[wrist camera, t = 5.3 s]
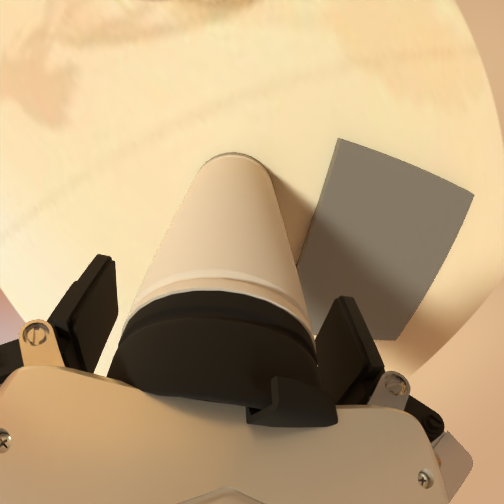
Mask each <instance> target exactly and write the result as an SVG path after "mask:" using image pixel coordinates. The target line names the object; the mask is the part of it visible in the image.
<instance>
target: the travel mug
mask: <svg viewBox="0 0 504 504" xmlns="http://www.w3.org/2000/svg"><path fill="white" fill-rule="evenodd" d="M107 377H108V378H112V379H116V380H120V381H123V382H124V383H126V384H129V385H131V386H133V387H135V388H137V389H140V390H141V391H143V392H147V393H150V394H154V395H158V396H169V397H183V398H191V399H199V400H209V401H215V402H221V403H226V404H232V405H239V406H245V407H246V423H247V424H252V425H260V426H268V427H284V428H306V427H329V426H332V425H336V424H337V423H338V415H337V410H336V405H335V401H334V398H333V397H332V396H331V395H330V394H329V393H328V392H326V391H324V388H323V383H322V379H321V374H320V371H319V369H318V366H317V356H316V344H315V340H314V336H313V333H312V331H311V323H310V319H309V315H308V311H307V307H306V303H305V300H304V296H303V292H302V288H301V284H300V280H299V277H298V273H297V269H296V265H295V262H294V258H293V254H292V251H291V247H290V243H289V240H288V236H287V233H286V229H285V226H284V222H283V219H282V215H281V212H280V208H279V205H278V201H277V198H276V195H275V191H274V188H273V185H272V181H271V178H270V176H269V173H268V172H267V170H266V169H265V167H264V166H263V165H262V164H261V163H260V162H259V161H258V160H256V159H254V158H253V157H251V156H248V155H246V154H242V153H237V152H231V153H224V154H220V155H217V156H215V157H213V158H211V159H210V160H209V161H207V162H206V163H205V164H204V165H203V166H202V167H201V169H200V170H199V172H198V173H197V175H196V177H195V179H194V181H193V182H192V184H191V186H190V188H189V190H188V191H187V193H186V195H185V197H184V199H183V201H182V203H181V205H180V206H179V208H178V210H177V212H176V214H175V216H174V218H173V220H172V222H171V224H170V226H169V228H168V230H167V232H166V234H165V236H164V238H163V240H162V242H161V244H160V246H159V248H158V250H157V252H156V254H155V256H154V258H153V260H152V262H151V265H150V267H149V269H148V271H147V273H146V275H145V278H144V280H143V282H142V284H141V286H140V289H139V291H138V293H137V296H136V298H135V300H134V302H133V305H132V307H131V309H130V313H129V315H128V317H127V319H126V321H125V324H124V326H123V329H122V335H121V339H120V341H119V344H118V349H117V351H116V353H115V355H114V357H113V360H112V363H111V366H110V368H109V371H108V374H107Z"/></svg>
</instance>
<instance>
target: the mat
mask: <svg viewBox="0 0 504 504" xmlns="http://www.w3.org/2000/svg"><path fill="white" fill-rule="evenodd" d="M473 197H474V194H472V193H471V192H469V191H467V190H465V189H463V188H461V187H459V186H457V185H455V184H453V183H451V182H449V181H447V180H445V179H443V178H440V177H438V176H436V175H434V174H432V173H430V172H427V171H425V170H423V169H420V168H418V167H416V166H413V165H411V164H409V163H406V162H404V161H401V160H399V159H396V158H394V157H391V156H389V155H386V154H383V153H381V152H378V151H375V150H373V149H370V148H367V147H364V146H361V145H358V144H355V143H352V142H349V141H346V140H343V139H340V138H338V140H337V143H336V146H335V150H334V153H333V156H332V160H331V163H330V166H329V170H328V173H327V176H326V179H325V182H324V186H323V189H322V192H321V195H320V198H319V201H318V204H317V207H316V210H315V213H314V216H313V219H312V222H311V225H310V228H309V231H308V234H307V237H306V240H305V243H304V246H303V249H302V252H301V255H300V257H299V260H298V263H297V266H296V269H297V273H298V277H299V280H300V284H301V288H302V292H303V296H304V300H305V303H306V307H307V311H308V315H309V319H310V323H311V331H312V333H313V335H318V333H319V331H320V329H321V327H322V325H323V323H324V321H325V318H326V316H327V314H328V312H329V310H330V308H331V306H332V304H333V302H334V300H335V299H336V298H339V296H349V297H353V298H354V299H355V302H356V304H357V306H358V308H359V310H360V312H361V314H362V316H363V319H364V321H365V323H366V325H367V327H368V329H369V332H370V334H371V336H372V338H373V339H374V340H396V339H397V338H398V336H399V335H400V333H401V332H402V331H403V329H404V328H405V326H406V325H407V323H408V322H409V320H410V319H411V317H412V315H413V314H414V312H415V311H416V309H417V308H418V306H419V304H420V303H421V301H422V299H423V298H424V296H425V295H426V293H427V291H428V289H429V288H430V286H431V284H432V283H433V281H434V279H435V277H436V275H437V274H438V272H439V270H440V268H441V266H442V264H443V262H444V261H445V259H446V257H447V255H448V253H449V251H450V249H451V247H452V245H453V243H454V241H455V239H456V236H457V234H458V232H459V230H460V228H461V226H462V223H463V221H464V219H465V217H466V214H467V212H468V210H469V207H470V205H471V202H472V200H473Z"/></svg>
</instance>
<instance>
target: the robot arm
mask: <svg viewBox="0 0 504 504" xmlns="http://www.w3.org/2000/svg"><path fill="white" fill-rule="evenodd" d="M117 316H118V300H117V287H116V269H115V261H113V260H112V259H111V257H110V256H106V255H101V254H98V255H96V257H95V258H94V259H93V261H92V262H91V263H90V265H89V266H88V267H87V269H86V270H85V271H84V273H83V274H82V275H81V277H80V278H79V279H78V281H75V282H74V283H73V284H72V285H71V286H70V288H69V289H68V291H67V292H66V293H65V295H64V296H63V298H62V299H61V301H60V302H59V304H58V305H57V307H56V308H55V310H54V311H53V313H52V314H51V316H50V317H49V319H48V320H47V322H46V321H44V320H39V319H37V320H32V321H29V322H27V323H26V324H24V325H23V327H22V328H21V330H20V332H19V339H17V340H14V341H11V342H8V343H5V344H2V345H0V504H449V502H450V501H451V499H452V498H453V497H454V495H455V494H456V492H457V491H458V490H459V488H460V487H461V485H462V483H463V482H464V481H465V479H466V477H467V476H468V474H469V473H470V471H471V469H472V466H473V460H472V457H471V456H470V454H469V453H468V452H467V451H466V450H465V449H464V448H463V446H461V444H460V443H459V442H458V441H457V440H456V439H455V438H454V437H453V436H452V435H451V434H450V433H449V432H448V431H447V432H446V433H445V432H444V422H443V420H442V418H441V417H440V415H439V414H438V413H436V412H435V411H433V410H432V409H430V408H429V407H427V406H425V405H424V404H423V403H421V402H419V401H418V400H416V399H415V398H413V397H412V396H410V395H409V394H410V385H409V383H408V381H407V379H406V378H405V377H404V376H403V375H401V374H400V373H397V372H394V371H387V372H385V370H384V367H385V366H384V364H383V361H382V359H381V357H380V354H379V352H378V350H377V347H376V345H375V343H374V341H373V338H372V336H371V334H370V332H369V329H368V327H367V325H366V323H365V321H364V319H363V316H362V314H361V312H360V310H359V308H358V306H357V304H356V302H355V299H354V298H353V297H349V296H339V298H336V299H335V300H334V302H333V304H332V306H331V308H330V310H329V312H328V314H327V316H326V318H325V321H324V323H323V325H322V327H321V329H320V331H319V333H318V335H317V337H316V339H315V344H316V356H317V365H318V369H319V371H320V374H321V379H322V383H323V388H324V391H326V392H328V393H329V394H330V395H331V396H332V397H333V398H334V401H335V405H336V410H337V415H338V423H337V424H336V425H332V426H329V427H306V428H284V427H268V426H260V425H252V424H247V423H246V407H245V406H239V405H232V404H226V403H221V402H215V401H209V400H199V399H191V398H183V397H169V396H158V395H154V394H150V393H147V392H143V391H141V390H140V389H137V388H135V387H133V386H131V385H129V384H126V383H124V382H123V381H120V380H116V379H112V378H108V377H104V376H100V375H96V374H93V373H94V371H95V368H96V366H97V363H98V361H99V358H100V356H101V353H102V351H103V349H104V346H105V344H106V342H107V339H108V337H109V335H110V332H111V330H112V328H113V326H114V324H115V321H116V319H117Z"/></svg>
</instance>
